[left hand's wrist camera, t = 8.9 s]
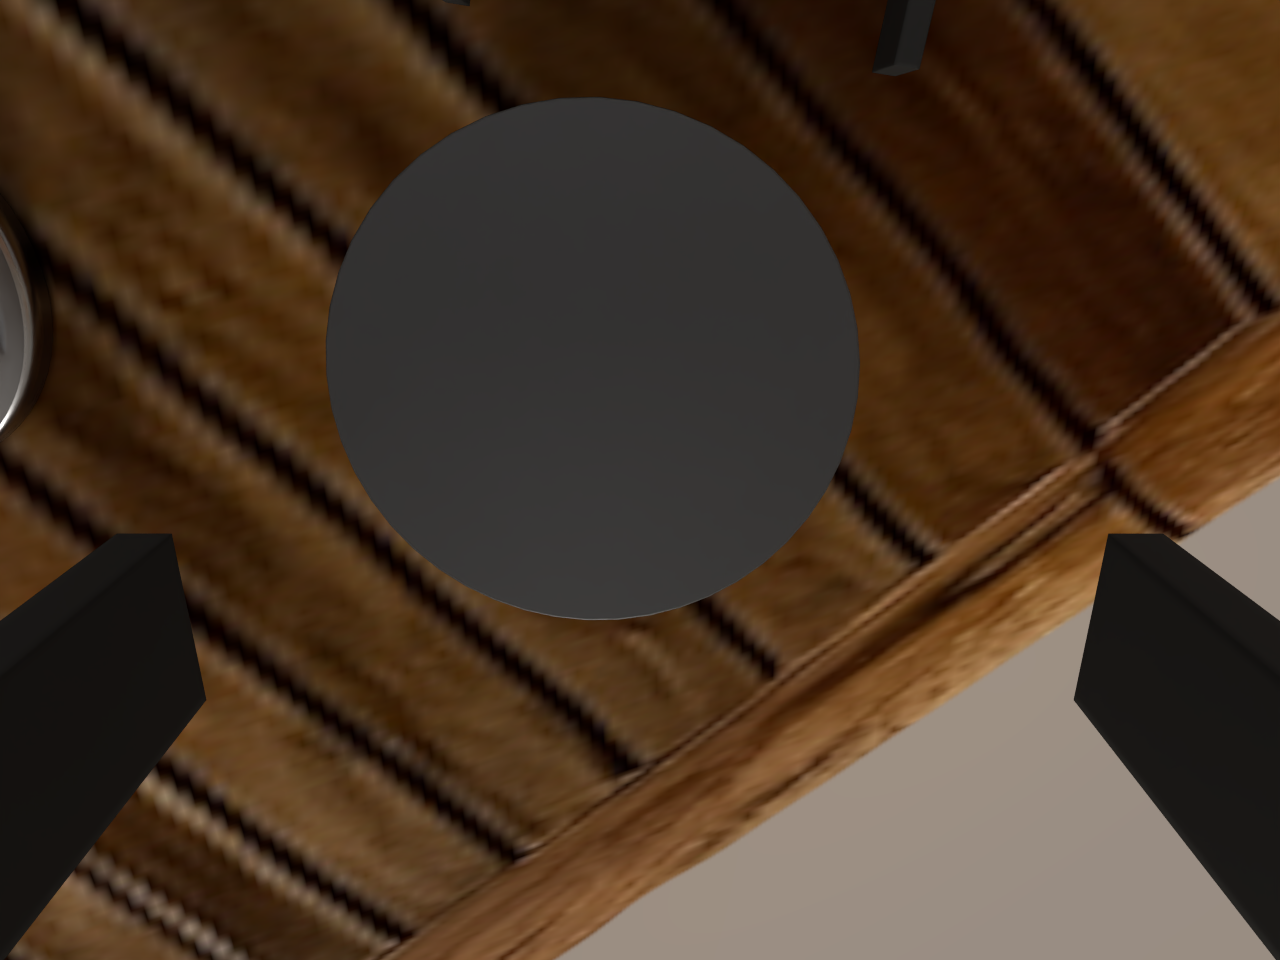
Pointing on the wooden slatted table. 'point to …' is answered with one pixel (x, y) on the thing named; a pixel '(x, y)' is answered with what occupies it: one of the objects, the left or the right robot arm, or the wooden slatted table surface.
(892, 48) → the right robot arm
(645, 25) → the wooden slatted table surface
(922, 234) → the wooden slatted table surface
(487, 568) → the lid
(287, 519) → the wooden slatted table surface
